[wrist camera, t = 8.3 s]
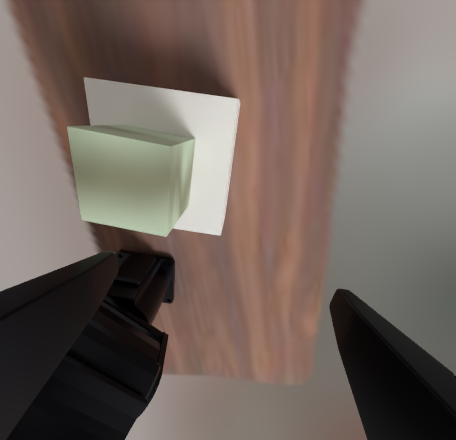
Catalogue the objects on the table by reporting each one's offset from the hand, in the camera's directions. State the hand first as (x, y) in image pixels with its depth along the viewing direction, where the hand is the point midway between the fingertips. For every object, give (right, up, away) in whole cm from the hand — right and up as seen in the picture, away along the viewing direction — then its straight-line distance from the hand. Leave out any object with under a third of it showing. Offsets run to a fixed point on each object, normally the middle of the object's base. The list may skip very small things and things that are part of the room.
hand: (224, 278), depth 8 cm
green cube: (-5, +6, +7) cm, 11 cm away
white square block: (-4, +8, +10) cm, 14 cm away
